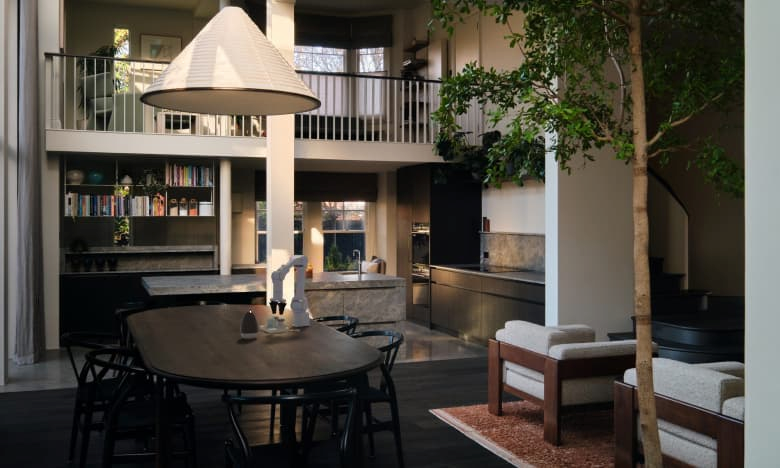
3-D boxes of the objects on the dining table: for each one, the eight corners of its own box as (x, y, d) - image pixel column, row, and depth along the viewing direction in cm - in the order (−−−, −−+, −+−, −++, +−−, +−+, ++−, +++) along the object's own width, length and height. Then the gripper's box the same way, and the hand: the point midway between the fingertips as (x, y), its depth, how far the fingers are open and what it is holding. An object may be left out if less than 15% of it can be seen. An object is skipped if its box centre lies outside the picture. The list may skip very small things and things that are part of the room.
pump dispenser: (261, 336, 400) (260, 310, 399) (255, 340, 389) (255, 312, 389) (243, 336, 401) (243, 310, 400) (237, 339, 390) (237, 312, 390)
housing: (278, 327, 434) (278, 320, 433) (289, 331, 417) (289, 324, 417) (259, 329, 428) (259, 322, 428) (269, 333, 411) (269, 326, 411)
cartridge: (273, 326, 425) (272, 317, 425) (275, 327, 421) (275, 318, 421) (265, 326, 423) (265, 317, 423) (268, 327, 419) (268, 318, 419)
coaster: (297, 329, 423) (297, 329, 423) (301, 331, 417) (301, 330, 417) (287, 330, 420) (287, 329, 420) (291, 332, 414) (291, 331, 414)
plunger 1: (276, 321, 431) (276, 316, 431) (278, 321, 428) (278, 316, 428) (271, 321, 429) (271, 316, 429) (273, 322, 426) (272, 317, 426)
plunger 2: (282, 323, 421) (282, 318, 421) (284, 324, 418) (284, 319, 418) (276, 323, 420) (276, 318, 420) (278, 324, 417) (278, 319, 417)
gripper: (265, 290, 419) (265, 313, 418) (278, 292, 408) (278, 315, 407) (275, 290, 423) (275, 313, 423) (289, 291, 412) (288, 314, 412)
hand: (277, 314), depth 415 cm, fingers open, 7 cm apart
